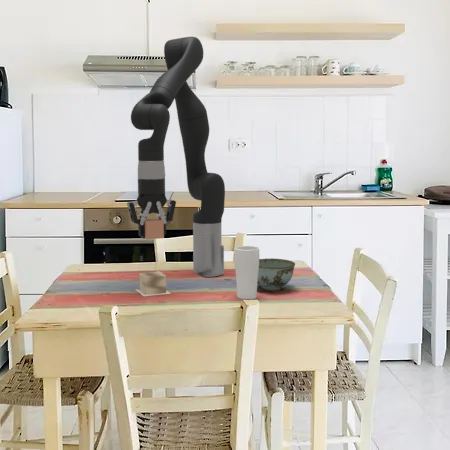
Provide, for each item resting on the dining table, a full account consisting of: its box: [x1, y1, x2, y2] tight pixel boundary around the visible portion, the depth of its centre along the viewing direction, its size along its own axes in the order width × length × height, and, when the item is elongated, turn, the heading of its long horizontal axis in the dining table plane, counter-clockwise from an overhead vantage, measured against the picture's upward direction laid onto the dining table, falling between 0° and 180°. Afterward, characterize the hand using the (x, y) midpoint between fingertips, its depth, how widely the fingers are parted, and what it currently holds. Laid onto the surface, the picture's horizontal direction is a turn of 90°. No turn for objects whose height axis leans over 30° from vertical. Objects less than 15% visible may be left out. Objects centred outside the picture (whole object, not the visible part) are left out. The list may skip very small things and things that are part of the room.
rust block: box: [144, 217, 165, 240], centre depth 188 cm, size 5×5×5 cm
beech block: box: [139, 271, 167, 295], centre depth 190 cm, size 6×6×5 cm
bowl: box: [257, 258, 296, 292], centre depth 199 cm, size 14×13×8 cm
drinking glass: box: [234, 245, 260, 300], centre depth 184 cm, size 7×7×15 cm
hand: (152, 237), depth 188 cm, fingers closed on rust block, 5 cm apart
